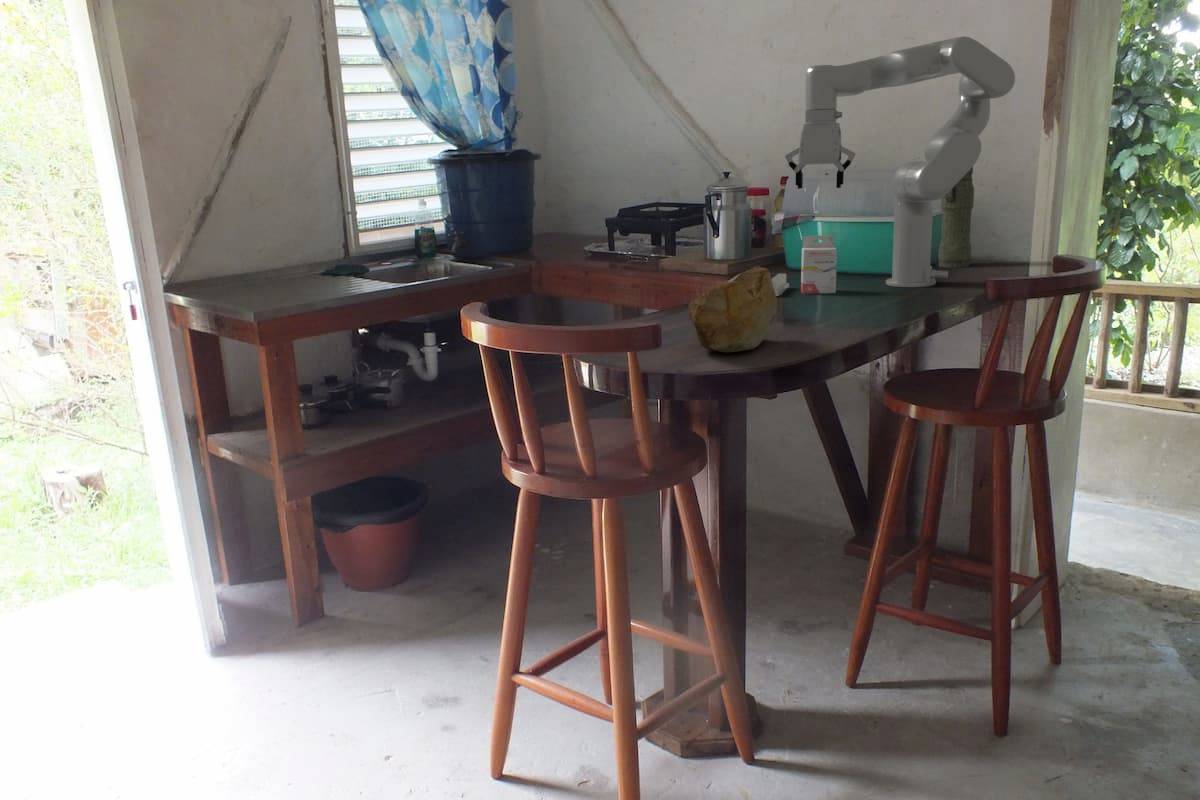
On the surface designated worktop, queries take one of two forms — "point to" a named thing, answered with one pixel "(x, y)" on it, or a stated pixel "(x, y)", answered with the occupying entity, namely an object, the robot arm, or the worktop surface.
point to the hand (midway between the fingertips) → (819, 188)
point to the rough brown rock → (735, 312)
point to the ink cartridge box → (818, 265)
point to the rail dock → (775, 283)
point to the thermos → (957, 224)
